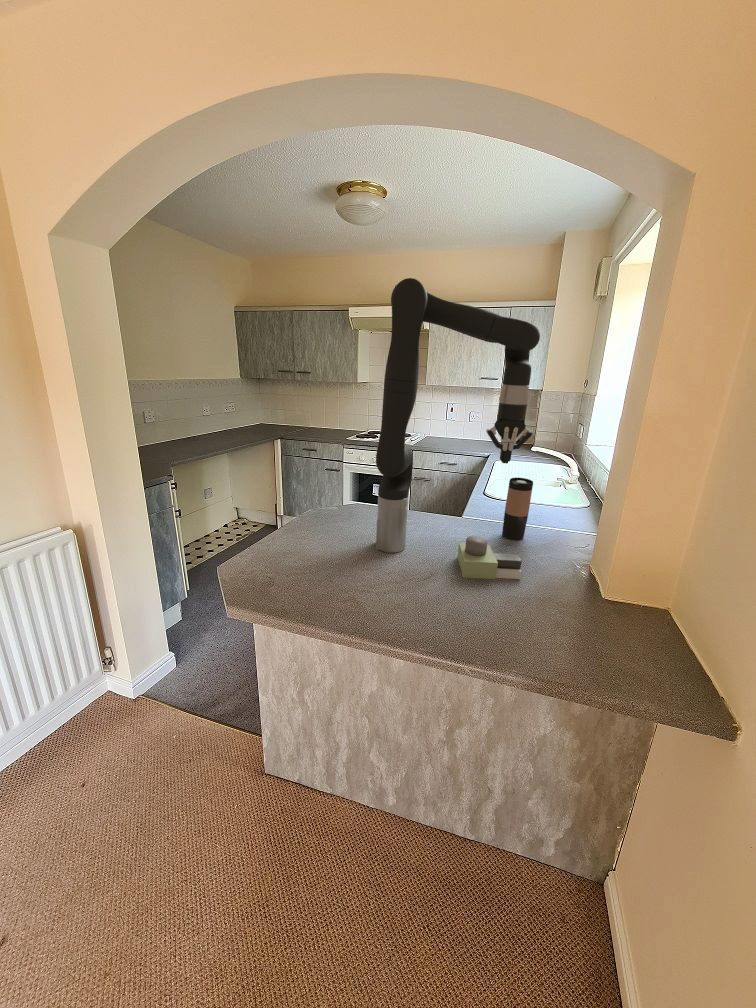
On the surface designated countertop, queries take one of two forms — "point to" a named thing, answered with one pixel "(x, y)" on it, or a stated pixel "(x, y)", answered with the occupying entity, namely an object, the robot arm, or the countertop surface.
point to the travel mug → (517, 508)
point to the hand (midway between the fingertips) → (504, 462)
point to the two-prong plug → (481, 561)
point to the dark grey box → (508, 561)
